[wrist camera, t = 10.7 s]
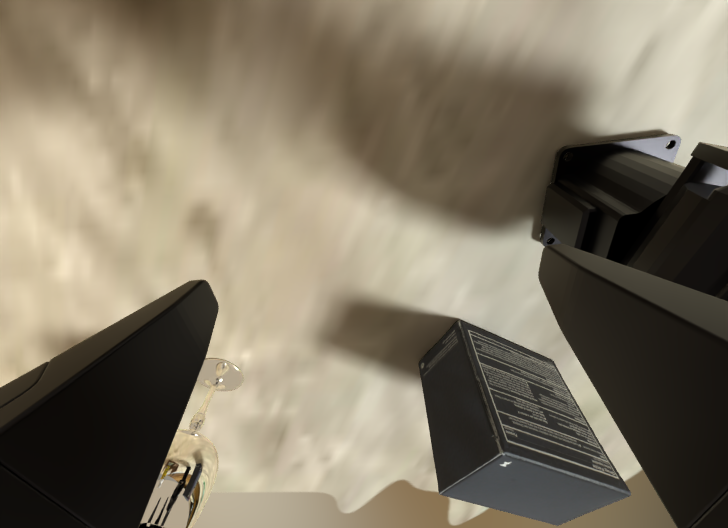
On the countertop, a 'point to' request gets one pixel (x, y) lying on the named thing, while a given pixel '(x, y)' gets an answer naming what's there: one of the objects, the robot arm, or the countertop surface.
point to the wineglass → (190, 460)
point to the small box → (511, 431)
